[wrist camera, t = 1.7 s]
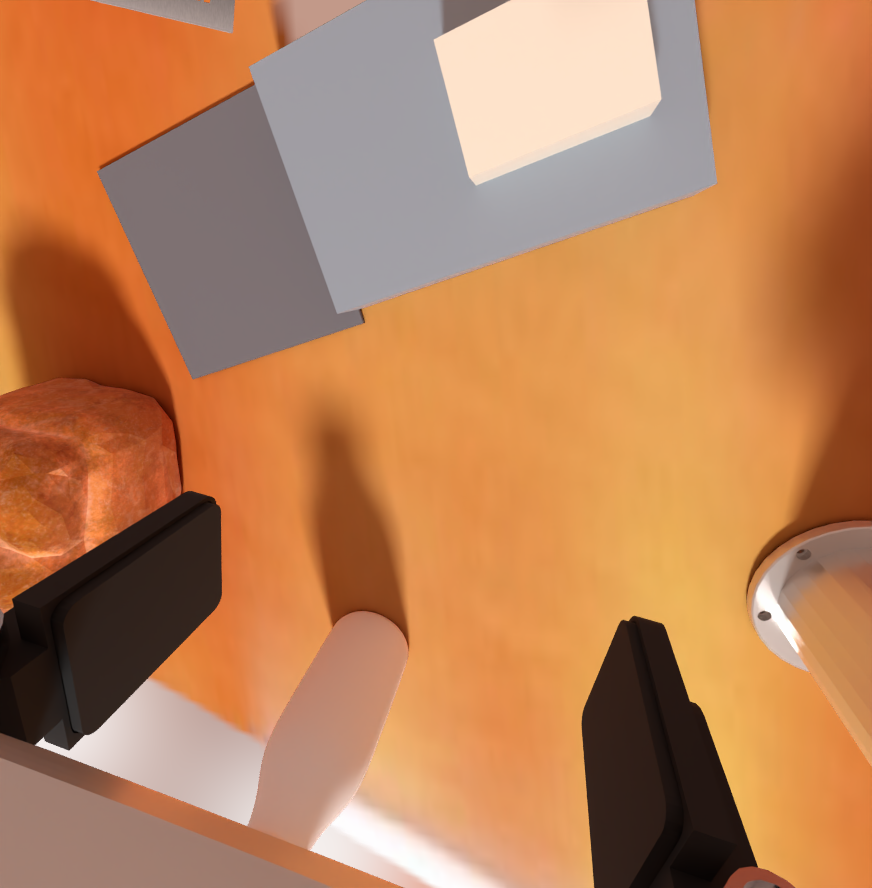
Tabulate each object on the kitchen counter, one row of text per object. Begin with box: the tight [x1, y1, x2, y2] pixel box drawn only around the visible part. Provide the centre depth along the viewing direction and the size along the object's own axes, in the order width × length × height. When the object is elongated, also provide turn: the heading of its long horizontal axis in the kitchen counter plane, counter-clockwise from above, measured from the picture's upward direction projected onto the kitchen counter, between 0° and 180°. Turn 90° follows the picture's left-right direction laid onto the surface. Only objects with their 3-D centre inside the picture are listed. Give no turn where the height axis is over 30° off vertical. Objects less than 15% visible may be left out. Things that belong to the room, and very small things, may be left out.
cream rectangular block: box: [434, 0, 662, 185], centre depth 22 cm, size 9×6×2 cm, turn 108°
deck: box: [249, 0, 717, 314], centre depth 26 cm, size 22×14×4 cm, turn 108°
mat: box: [97, 85, 365, 379], centre depth 34 cm, size 16×16×1 cm
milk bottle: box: [248, 611, 408, 851], centre depth 35 cm, size 8×8×20 cm
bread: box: [0, 378, 181, 614], centre depth 39 cm, size 14×26×16 cm, turn 172°
